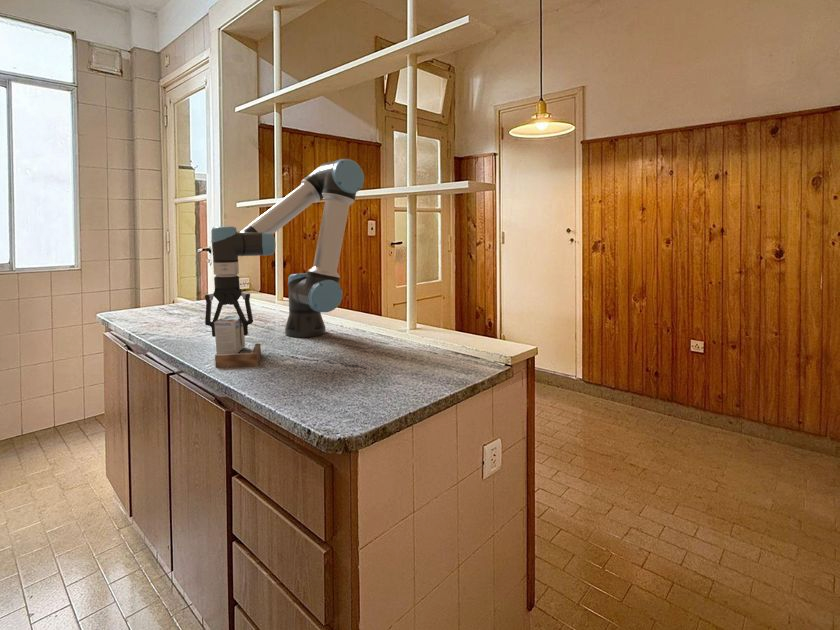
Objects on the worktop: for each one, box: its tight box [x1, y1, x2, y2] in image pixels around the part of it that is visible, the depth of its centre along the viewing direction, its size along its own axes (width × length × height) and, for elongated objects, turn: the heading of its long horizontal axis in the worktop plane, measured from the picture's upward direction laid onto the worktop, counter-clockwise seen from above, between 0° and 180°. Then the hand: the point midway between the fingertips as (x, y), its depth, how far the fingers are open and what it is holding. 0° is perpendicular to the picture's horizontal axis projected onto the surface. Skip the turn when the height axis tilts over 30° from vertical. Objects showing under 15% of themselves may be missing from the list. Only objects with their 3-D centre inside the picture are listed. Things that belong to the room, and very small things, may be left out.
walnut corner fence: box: [214, 343, 262, 368], centre depth 157 cm, size 12×14×4 cm
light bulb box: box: [214, 315, 246, 354], centre depth 168 cm, size 11×7×11 cm, turn 5°
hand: (231, 345), depth 168 cm, fingers closed on light bulb box, 7 cm apart
